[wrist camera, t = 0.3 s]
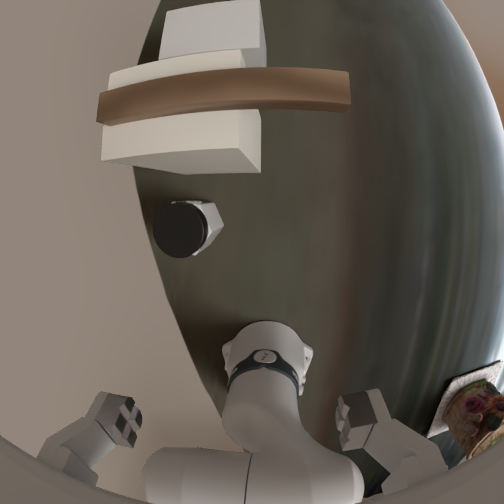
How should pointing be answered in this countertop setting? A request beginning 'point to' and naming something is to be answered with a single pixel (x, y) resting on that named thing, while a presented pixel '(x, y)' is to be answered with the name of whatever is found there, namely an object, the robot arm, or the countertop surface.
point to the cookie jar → (472, 411)
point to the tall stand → (186, 126)
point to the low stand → (216, 31)
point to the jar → (186, 227)
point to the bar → (227, 93)
